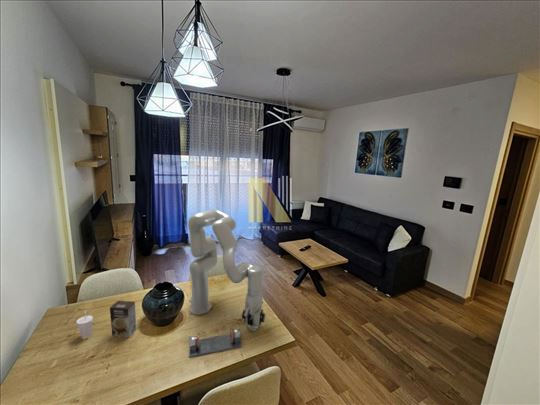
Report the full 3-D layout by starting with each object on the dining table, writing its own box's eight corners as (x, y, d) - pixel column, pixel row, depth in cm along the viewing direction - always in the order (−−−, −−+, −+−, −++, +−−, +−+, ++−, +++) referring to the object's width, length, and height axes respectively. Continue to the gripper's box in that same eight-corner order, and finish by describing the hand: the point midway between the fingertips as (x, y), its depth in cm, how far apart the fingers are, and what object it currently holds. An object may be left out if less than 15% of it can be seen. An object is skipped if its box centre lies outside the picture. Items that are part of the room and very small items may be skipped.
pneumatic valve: (262, 334, 124) (263, 313, 122) (241, 330, 127) (241, 309, 125) (265, 327, 130) (266, 307, 127) (244, 323, 132) (245, 303, 130)
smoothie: (97, 334, 119) (94, 309, 117) (83, 343, 114) (80, 317, 111) (89, 330, 122) (87, 305, 119) (75, 338, 116) (72, 313, 114)
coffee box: (111, 337, 118) (108, 307, 115) (119, 328, 125) (117, 300, 122) (129, 338, 118) (127, 308, 115) (137, 329, 124) (135, 301, 121)
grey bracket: (189, 357, 108) (188, 343, 107) (189, 342, 117) (189, 329, 115) (241, 347, 115) (241, 333, 114) (238, 334, 124) (238, 321, 122)
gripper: (258, 281, 133) (257, 310, 136) (238, 295, 119) (237, 327, 122) (269, 285, 129) (268, 315, 132) (250, 300, 115) (249, 333, 118)
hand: (253, 320), depth 127 cm, fingers closed on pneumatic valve, 5 cm apart
